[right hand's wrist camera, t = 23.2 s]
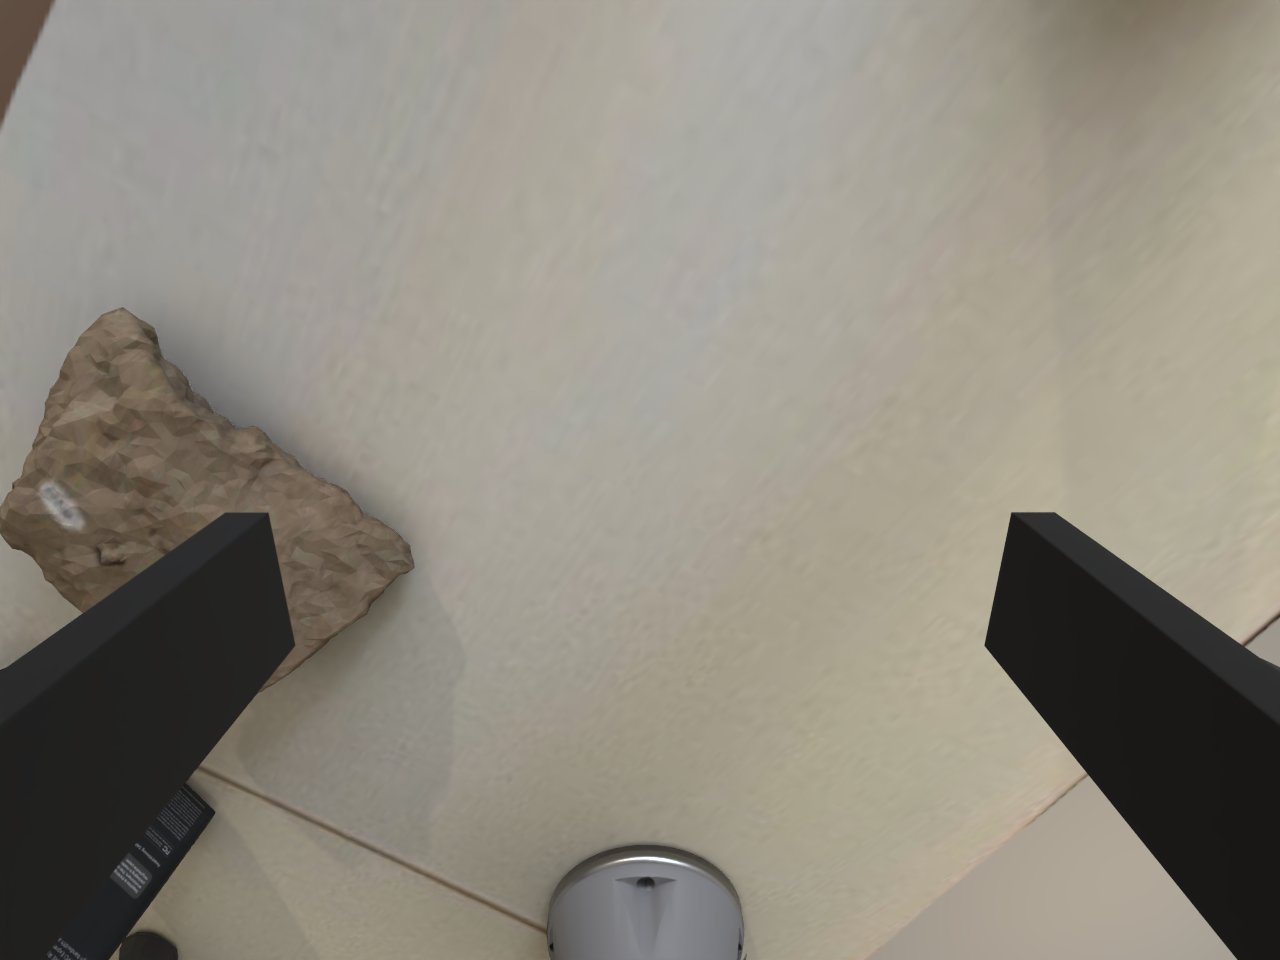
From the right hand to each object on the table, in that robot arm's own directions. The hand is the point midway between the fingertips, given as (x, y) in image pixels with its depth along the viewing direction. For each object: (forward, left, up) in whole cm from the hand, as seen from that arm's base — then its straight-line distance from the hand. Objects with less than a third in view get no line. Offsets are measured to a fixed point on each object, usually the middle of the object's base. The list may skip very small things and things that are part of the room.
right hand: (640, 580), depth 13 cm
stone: (-25, +10, -29) cm, 40 cm away
